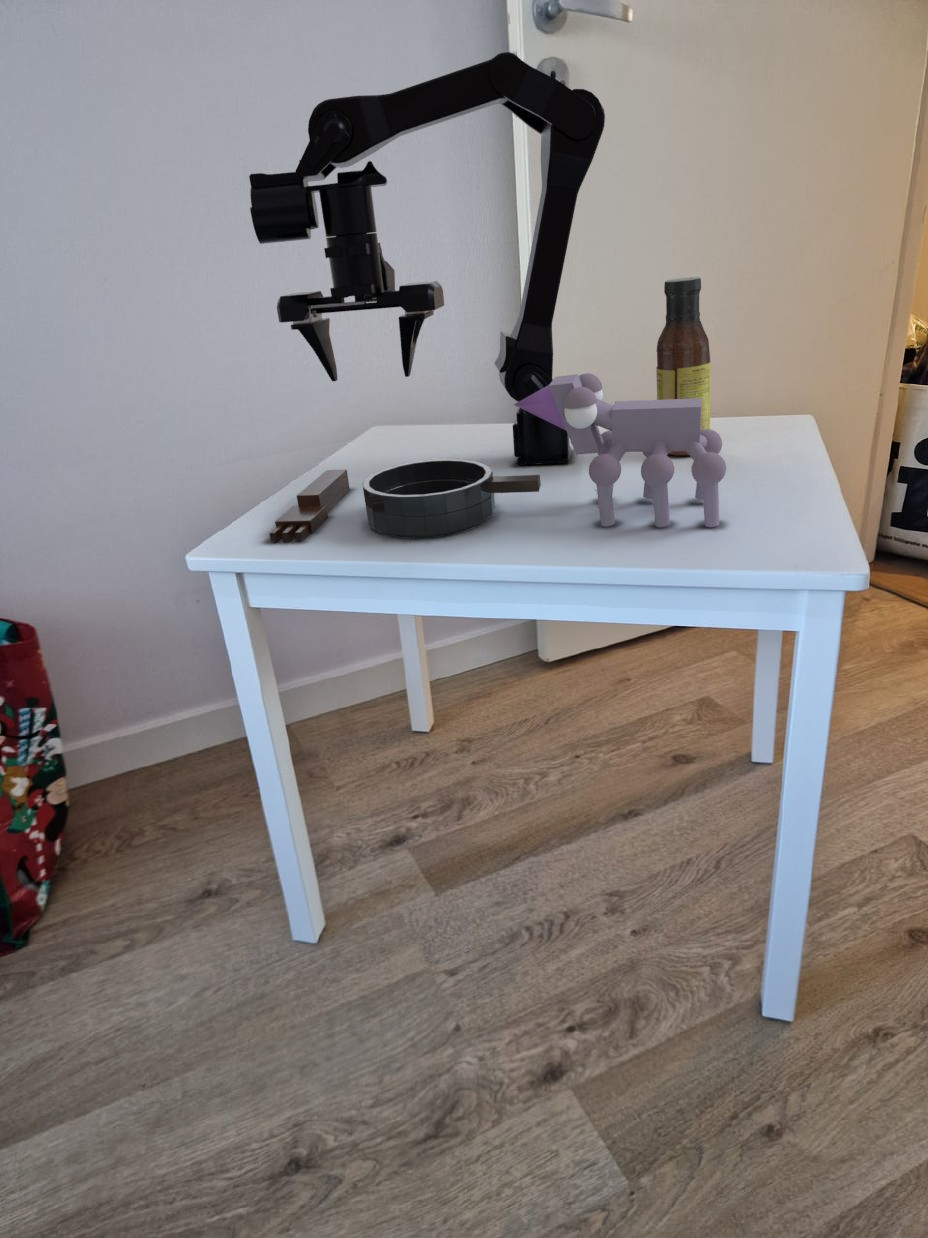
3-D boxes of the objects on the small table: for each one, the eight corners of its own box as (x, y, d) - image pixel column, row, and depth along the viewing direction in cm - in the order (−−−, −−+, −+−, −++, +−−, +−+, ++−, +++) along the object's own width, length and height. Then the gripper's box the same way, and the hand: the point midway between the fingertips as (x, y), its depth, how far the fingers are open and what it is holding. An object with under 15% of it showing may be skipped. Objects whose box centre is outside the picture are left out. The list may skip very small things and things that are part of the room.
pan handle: (540, 485, 80) (540, 474, 80) (538, 491, 79) (538, 480, 78) (492, 487, 81) (491, 476, 81) (489, 493, 80) (489, 482, 79)
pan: (502, 496, 87) (500, 456, 85) (484, 539, 76) (480, 494, 74) (388, 499, 90) (382, 461, 88) (352, 541, 78) (345, 498, 76)
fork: (324, 490, 96) (321, 470, 95) (355, 489, 95) (352, 468, 94) (268, 542, 81) (262, 518, 79) (304, 541, 80) (299, 517, 79)
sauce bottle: (715, 445, 98) (724, 273, 90) (699, 459, 94) (707, 279, 85) (664, 443, 102) (668, 277, 93) (647, 455, 97) (649, 282, 88)
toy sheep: (509, 531, 77) (500, 390, 71) (531, 497, 86) (524, 369, 80) (722, 533, 71) (731, 380, 66) (722, 497, 81) (729, 359, 75)
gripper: (446, 226, 93) (458, 362, 100) (299, 241, 97) (320, 371, 103) (426, 227, 83) (440, 378, 90) (263, 243, 87) (289, 387, 94)
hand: (370, 378), depth 95 cm, fingers open, 9 cm apart
